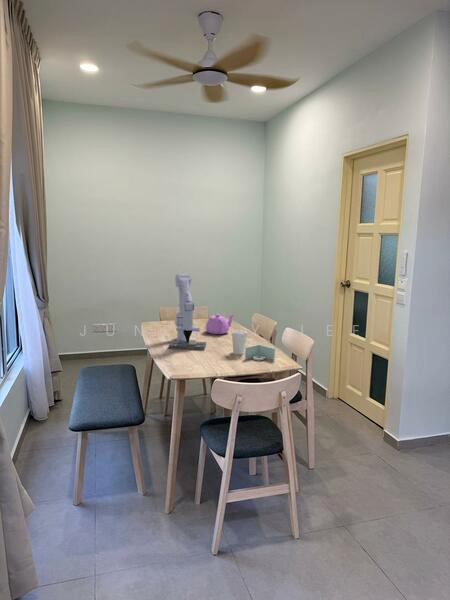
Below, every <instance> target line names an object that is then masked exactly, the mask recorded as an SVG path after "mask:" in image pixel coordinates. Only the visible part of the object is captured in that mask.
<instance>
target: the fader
mask: <svg viewBox="0 0 450 600" xmlns="http://www.w3.org/2000/svg"><path fill="white" fill-rule="evenodd" d="M197 340H198V339H197V338H195V337H190V339H189V344H190V345H196V342H198V341H197Z"/></svg>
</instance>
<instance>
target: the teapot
mask: <svg viewBox="0 0 450 600" xmlns="http://www.w3.org/2000/svg"><path fill="white" fill-rule="evenodd" d="M234 316H235V313H234V314H231V315H230V316H229V317H228V321H227V319H226V317H225V316H222V315H221V314H220V313H215V315H211V316H210V317H209V318H208V321H207V322H206V325H205V330H206V332H207V333H209V334H211V335H224V334H226V333H228V332H229V331H230V327H231V326H232V324H233V323H232V321H233V320H232V319H233V317H234Z"/></svg>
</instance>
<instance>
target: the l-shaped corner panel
mask: <svg viewBox="0 0 450 600" xmlns="http://www.w3.org/2000/svg"><path fill="white" fill-rule="evenodd" d="M252 357H253V358H252ZM264 357H266V358H264ZM248 358H250V359H252V360H253V359H254V360H253V361H255V360H257V361H256V362H262V361H261V360H265V359H267V358H269V359H268V360H270V359H273V360H272V361H275V358H276V348H275V347H271V346H267V345H263V344H260V343H258V344H254V345H250V346H245V348H244V360H249V359H248Z"/></svg>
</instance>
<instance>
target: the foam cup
mask: <svg viewBox="0 0 450 600" xmlns="http://www.w3.org/2000/svg"><path fill="white" fill-rule="evenodd" d="M247 337H248V331H246V330H243V329H242V330H241V329H234V330H231V342H232V352H233V354H235V355H243V354H245V348H246V342H247V341H246V340H247Z"/></svg>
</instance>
